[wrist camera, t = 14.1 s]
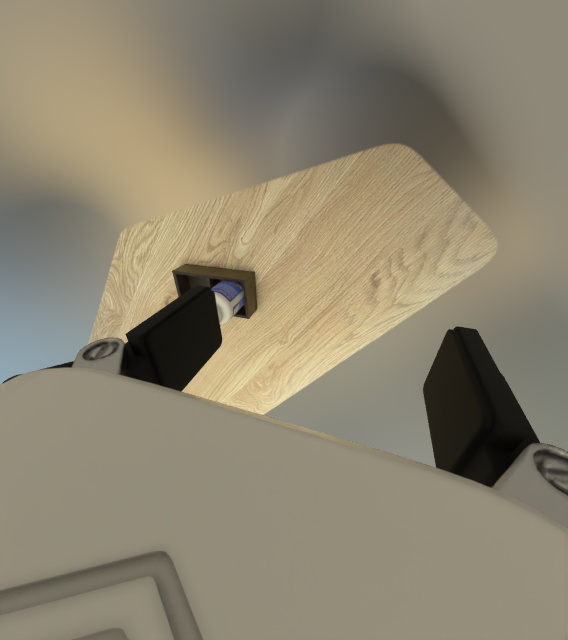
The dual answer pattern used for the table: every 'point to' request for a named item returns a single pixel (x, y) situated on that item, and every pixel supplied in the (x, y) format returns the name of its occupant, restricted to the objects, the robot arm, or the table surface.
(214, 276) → the brown wooden tray
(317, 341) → the table surface
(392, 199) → the table surface
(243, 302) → the pill bottle
